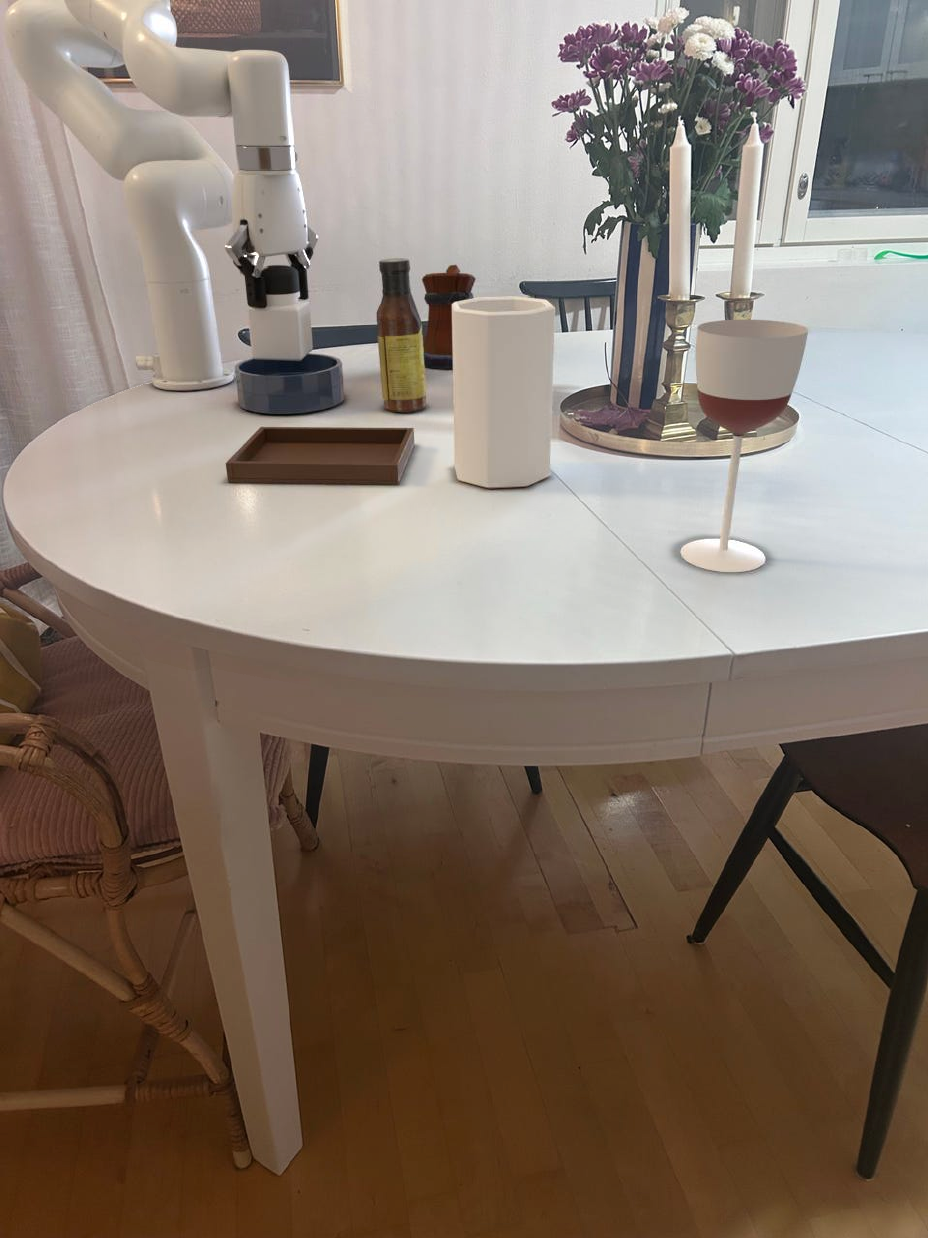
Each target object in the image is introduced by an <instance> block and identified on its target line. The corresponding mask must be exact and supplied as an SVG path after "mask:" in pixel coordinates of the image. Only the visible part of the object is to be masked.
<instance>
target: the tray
mask: <svg viewBox="0 0 928 1238" xmlns="http://www.w3.org/2000/svg"><path fill="white" fill-rule="evenodd" d="M414 448H415V428H414V427H337V426H335V427H330V426H329V427H328V426H322V427H320V426H260V427H259V428H258V429H257V430H256V431H255V432H254V433H253V435H252V434H251V436H250V437H249V438H248V439H247V440H246V441H245V442H244V443H243V445H242V446H241V447H239V449H238V450H236V451H235V453H233V455H232V456H231V457H230V458H229V459H228V460H227V461H226V462H225V470H226V475H227V483H229V484H230V483H231V484H234V483H235V484H239V483H240V484H244V483H246V484H309V485H310V484H311V485H312V484H314V485H316V484H319V485H320V484H321V485H323V484H324V485H394V486H395V485H399V484H400V482H401V479H402V477H403V475H404V472H405V470H406V467H407V465H408V463H409V460H410V458H411V455H412V453H413V450H414Z"/></svg>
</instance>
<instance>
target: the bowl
mask: <svg viewBox="0 0 928 1238" xmlns="http://www.w3.org/2000/svg"><path fill="white" fill-rule="evenodd" d="M343 372H344V371H343V362H342V360H341V359H340V358H338V357H336V356H334V355H333V356H332V355H329V354H323V353H312V352H309V353H308V354H307V355H306V356H305V357H304V358H303V359H302V360H301V361H290V360H258V359H253V358H252V357H251V358H247V359H245V360H242V361H240V362H238V363H237V364H235V365H234V374H235V376H234V377H235V381H236V382H235V383H236V388H237V389H236V391H237V397H238V398H237V399H238V405H239V407H241V408H242V409H244V410H246V411H249V412H253V413H260V414H267V415H293V414H295V415H296V414H305V413H306V414H307V413H312V412H316V411H322V410H326V409H330V408H332V407H335V406H337V405H339V404H341V403H343V401H344V400H345V397H346V396H345V384H344V373H343Z"/></svg>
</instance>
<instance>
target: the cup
mask: <svg viewBox="0 0 928 1238" xmlns="http://www.w3.org/2000/svg"><path fill="white" fill-rule="evenodd" d="M555 323H556V307H555V306H554V305H553V304H552V303H551V302H549V300H547V299H544V298H534V297H526V296H517V295H515V296H513V295H512V296H511V295H510V296H481V297H480V296H479V297H474V298H473V299H468V300H463V301H458V302H454V303H453V304H452V346H453V369H452V386H453V387H452V390H453V392H452V394H453V395H452V397H453V441H454V443H453V444H454V470H455V474H456V478H457V480H458V481H459V482H462V483H466V484H470V485H473V486H478V487H482V488H486V489H488V490H489V489H490V490H491V489H513V488H527V487H529V486H531V485H534V484H535V483H539V482H540V481H542V480H545V479H547V478H549V477H550V475H551V450H552V449H551V448H552V419H553V388H554V387H553V386H554V356H555V355H554V354H555V351H554V350H555V327H556V325H555Z"/></svg>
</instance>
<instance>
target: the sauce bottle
mask: <svg viewBox="0 0 928 1238" xmlns="http://www.w3.org/2000/svg"><path fill="white" fill-rule="evenodd" d="M378 266H379V272H380V274H381V285H382V290H381V292H382V297H381V301H380V304H379V306H378V308H377V310H376V313H375V314H376V324H377V325H376V327H377V344H378V345H377V347H378V358H379V369H380V370H379V371H380V382H381V393H382V399H383V406H384V409H386V410H388V411H389V412H394V413H413V412H416V411H420V410H422V409H425V407H426V405H427V380H426V366H425V364H424V350H423V349H424V348H423V340H424V335H423V323H422V320H421V316H420V314H419V311H418V309H417V305H416V302H415V300H414V298H413V294H412V292H411V291H412V289H411V284H410V283H411V281H410V271H411V264H410V260H409V259H408V258H405V257H404V258H402V257H401V258H399V257H398V258H396V257H395V258H385V259H380V260H379V261H378Z"/></svg>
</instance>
